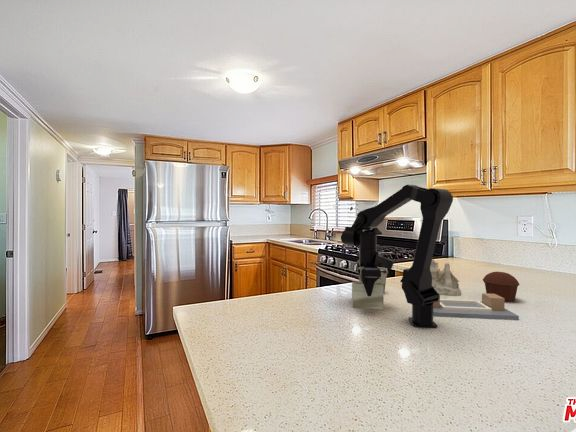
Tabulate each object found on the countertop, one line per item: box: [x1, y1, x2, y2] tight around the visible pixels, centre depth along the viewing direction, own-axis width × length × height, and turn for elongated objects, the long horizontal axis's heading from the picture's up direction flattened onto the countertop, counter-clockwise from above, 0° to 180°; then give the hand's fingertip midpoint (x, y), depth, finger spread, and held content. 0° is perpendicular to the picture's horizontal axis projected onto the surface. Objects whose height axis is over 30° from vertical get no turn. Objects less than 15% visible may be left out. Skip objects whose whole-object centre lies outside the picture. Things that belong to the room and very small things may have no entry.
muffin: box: [482, 271, 520, 303], centre depth 119 cm, size 12×11×10 cm
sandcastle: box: [430, 258, 462, 297], centre depth 132 cm, size 16×16×15 cm
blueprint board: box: [433, 292, 520, 321], centre depth 105 cm, size 15×27×5 cm, turn 83°
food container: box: [356, 266, 389, 294], centre depth 129 cm, size 12×6×10 cm, turn 84°
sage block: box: [351, 281, 385, 310], centre depth 109 cm, size 5×10×8 cm, turn 83°
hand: (367, 292), depth 109 cm, fingers open, 9 cm apart
